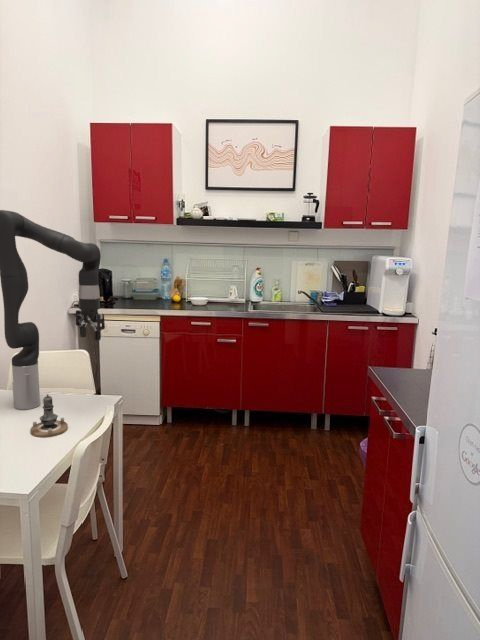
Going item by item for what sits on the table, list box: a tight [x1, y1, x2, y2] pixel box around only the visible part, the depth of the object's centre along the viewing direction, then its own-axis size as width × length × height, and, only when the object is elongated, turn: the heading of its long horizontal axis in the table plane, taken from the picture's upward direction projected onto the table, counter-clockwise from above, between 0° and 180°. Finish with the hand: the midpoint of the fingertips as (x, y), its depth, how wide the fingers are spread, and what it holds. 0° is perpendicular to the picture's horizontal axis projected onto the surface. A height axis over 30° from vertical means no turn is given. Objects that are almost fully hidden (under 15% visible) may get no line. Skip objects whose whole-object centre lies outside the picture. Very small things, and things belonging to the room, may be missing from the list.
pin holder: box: [30, 417, 69, 438], centre depth 157 cm, size 12×12×2 cm
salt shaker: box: [39, 393, 59, 430], centre depth 156 cm, size 6×6×12 cm
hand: (90, 338), depth 173 cm, fingers open, 8 cm apart
